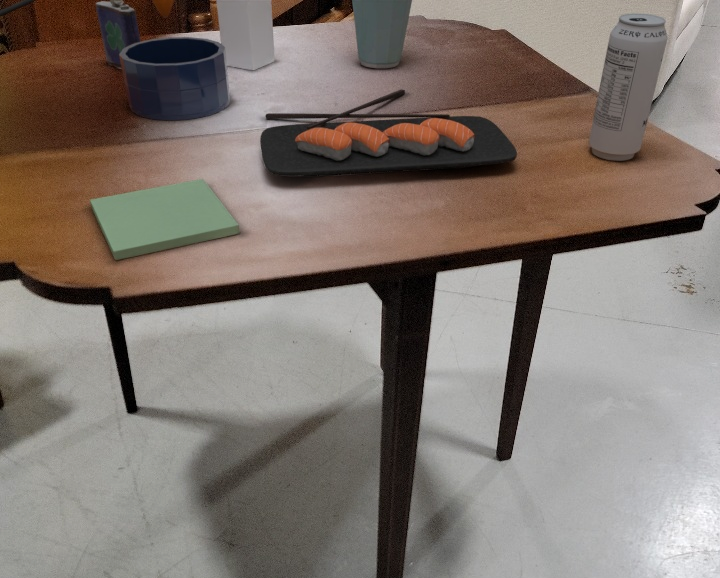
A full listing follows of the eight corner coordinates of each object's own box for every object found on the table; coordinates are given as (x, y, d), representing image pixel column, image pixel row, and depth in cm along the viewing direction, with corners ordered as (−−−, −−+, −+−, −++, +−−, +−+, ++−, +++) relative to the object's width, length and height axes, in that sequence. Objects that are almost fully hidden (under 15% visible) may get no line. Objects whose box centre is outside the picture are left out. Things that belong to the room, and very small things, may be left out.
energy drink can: (648, 160, 86) (682, 24, 77) (600, 164, 85) (630, 26, 76) (623, 141, 91) (653, 11, 82) (578, 145, 90) (603, 13, 81)
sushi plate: (266, 191, 79) (263, 157, 77) (254, 100, 102) (251, 72, 100) (523, 174, 83) (528, 142, 80) (455, 90, 106) (457, 63, 104)
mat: (91, 208, 76) (89, 199, 75) (204, 186, 80) (203, 178, 79) (115, 260, 67) (113, 251, 67) (240, 233, 71) (239, 224, 71)
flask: (103, 63, 116) (89, -11, 110) (120, 59, 118) (106, -14, 111) (135, 76, 111) (122, -1, 105) (152, 71, 113) (140, -4, 106)
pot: (120, 95, 104) (110, 43, 100) (213, 82, 109) (207, 32, 104) (142, 126, 94) (132, 70, 90) (243, 111, 99) (238, 57, 95)
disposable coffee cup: (333, 64, 116) (331, -42, 107) (376, 50, 123) (378, -51, 114) (385, 77, 111) (388, -33, 102) (427, 62, 118) (433, -43, 108)
